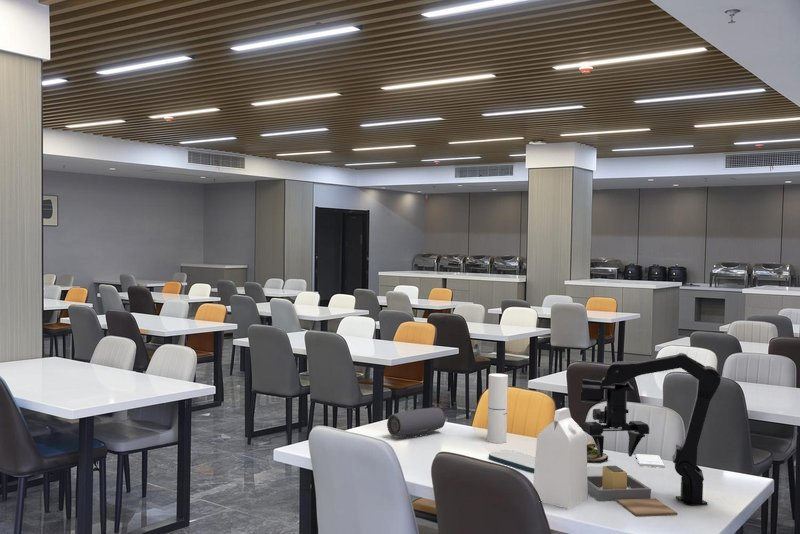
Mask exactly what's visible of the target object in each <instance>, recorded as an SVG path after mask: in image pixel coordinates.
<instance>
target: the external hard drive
mask: <svg viewBox="0 0 800 534" xmlns="http://www.w3.org/2000/svg"><path fill="white" fill-rule="evenodd" d="M535 457H536V456H534V455H529V454H527V453H526V454H525V453H523V452H519V451H515V450H511V449H502V450H498V451H497V450H496V451H493V452H489V454H488V459H489V460H491V461H493V462H496V463H498V464H502V465H506V466H509V467H512V468H514V469H515V468H516V469H518V470H522V471H525V472H529V473H531V474H534V469H535Z"/></svg>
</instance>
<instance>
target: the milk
mask: <svg viewBox="0 0 800 534" xmlns="http://www.w3.org/2000/svg"><path fill="white" fill-rule="evenodd" d="M553 415H554V418H553V421H552V422H550V423H549V424H548V425H547V426H545V427H544V428H543V429H542V430H541V431H540V432H539V433H538V435H537V437H536V443H535V444H536V448H535V456H534V457H535V469H534V473H533V484H532V485H534V487H535V488H536V490H537V492H538V493H539V495H540V497H541V500H542V502H541V503H545V504H547V505H552V506H556V507H560V508H564V509H568V510H570V509H572V508H573V507H575V506H577V505H578V504H581V503H582V502H584V501H586V500H587V499H588V498H589V497H588V495H589V493H588V488H587V467H588V460H587V442H588V441H587V440H588V437H587V435H586V434H587V433H586V432H584V431H583V428H582V427H580V425H579V424H578V423H577V422H576V421H575V420H574V419H573V418H572V415H571V411H570V408H569V407H562V408H558V409H556V410H555V411H554V414H553Z"/></svg>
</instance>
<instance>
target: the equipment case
mask: <svg viewBox="0 0 800 534" xmlns="http://www.w3.org/2000/svg"><path fill="white" fill-rule="evenodd" d="M603 466H604V465H603ZM603 466H602V465H600V466H595V465H594V466H587V488H588V495H591V497H593V498H594V499H595V500H597V501H598V502H610V501H611V502H612V501H615V502H617V500H621V499H651V498H652V489H651V488H650V487H649V486H647V485H645V484H644V483H642V482H641V481H640V480H638V479H636V478H635V477H633V476H632V475H630V474H627V489H602V488H599V487H602V472H603ZM628 487H629V488H628Z"/></svg>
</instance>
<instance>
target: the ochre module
mask: <svg viewBox="0 0 800 534" xmlns="http://www.w3.org/2000/svg"><path fill="white" fill-rule="evenodd" d="M627 475H628V472H627V471H625V470H624V469H622V468H620V467H619V466H618V465H606V466H605V465H603V472H602V486H601V489H628V486H627Z"/></svg>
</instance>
